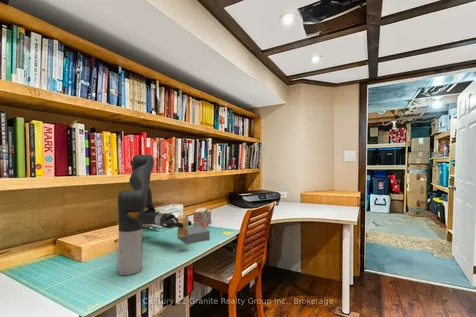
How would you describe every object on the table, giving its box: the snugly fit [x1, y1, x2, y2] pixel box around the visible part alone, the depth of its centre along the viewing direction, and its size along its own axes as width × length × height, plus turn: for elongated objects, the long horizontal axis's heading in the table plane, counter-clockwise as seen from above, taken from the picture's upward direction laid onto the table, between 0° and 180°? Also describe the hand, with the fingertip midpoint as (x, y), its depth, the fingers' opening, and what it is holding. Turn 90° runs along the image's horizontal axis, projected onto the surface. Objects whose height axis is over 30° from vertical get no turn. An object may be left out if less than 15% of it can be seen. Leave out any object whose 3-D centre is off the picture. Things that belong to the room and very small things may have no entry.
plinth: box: [176, 225, 211, 245], centre depth 144 cm, size 14×14×5 cm
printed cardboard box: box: [192, 207, 212, 229], centre depth 171 cm, size 21×6×12 cm, turn 171°
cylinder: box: [177, 214, 189, 237], centre depth 125 cm, size 5×5×10 cm
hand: (186, 224), depth 124 cm, fingers closed on cylinder, 5 cm apart
